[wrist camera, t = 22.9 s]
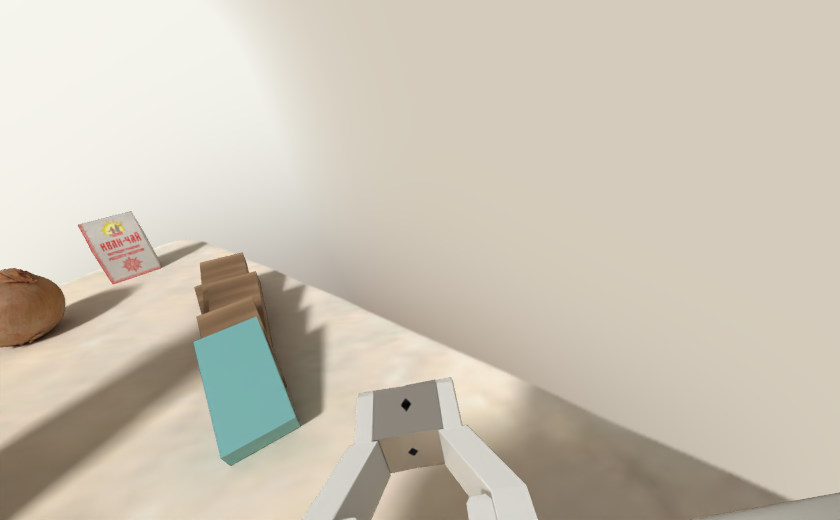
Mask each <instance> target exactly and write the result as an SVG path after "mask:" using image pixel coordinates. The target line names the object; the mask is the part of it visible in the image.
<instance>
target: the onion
mask: <svg viewBox="0 0 840 520" xmlns="http://www.w3.org/2000/svg"><path fill="white" fill-rule="evenodd" d="M64 311H65V297H64V295H63V292H62V291H61V289H60V288H59V287H58V286H57V285H56V284H55V283H53V282H52V281H50V280H49V279H46V278H44V277H41V276H37V275H34V274H31V273H29V272H27V271H23V270H21V269H20V270H19V269H16V268H13V269H4V270H1V271H0V347H9V346H15V345H20V346H22V345H23V344H25V343H27V342H29V343H31V342H33V340H35V339H37V338H39V337H41V336H43V335H44V334H46V333H48V332H49V331H51V330H52V329H53V328H55V327H56V326H57V324H58V323H59V322H60V321H61V319H62V317H63V315H64Z"/></svg>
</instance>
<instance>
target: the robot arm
mask: <svg viewBox="0 0 840 520" xmlns="http://www.w3.org/2000/svg"><path fill="white" fill-rule="evenodd" d="M436 385H437V386H436ZM439 464H445V465H446V467H447V468H448V469H449V471H450V472H451V473H452V475H453V476H454V477H455V479H456V480H457V481H458V483H459V484H460V485H461V487H462V488H463V489H464V491H465V492H466V493H467V495H468V496H469V499H468V501H467V503H466V505H467V512H468V519H469V520H538V518H537V515H536V512H535V509H534V506H533V503H532V500H531V497H530V494H529V491H528V488H527V485H526V484H525V483H524V482H523V481H522V480H521V479H520V478H519V477H518V476H517V475H516V474H515V473H514V472H513V471H512V470H511V469H510V468H509V467H508V466H507V465H506V464H505V463H504V462H503V461H502V460H501V459H500V458H499V457H498V456H497V455H496V454H495V453H494V452H493V451H492V450H491V449H490V448H489V447H488V446H487V445H486V444H485V443H484V442H483V440H482V439H481V438H480V437H479V436H478V435H477V434H476V433H475V432H474V431H473V430H472V429H471V428H470V427H469V426H468V425H462V421H461V417H460V412H459V408H458V403H457V398H456V394H455V389H454V384H453V380H452V378H451V377H449V378H444V379H439V380H431V381H426V382H421V383H415V384H410V385H405V386H403V387H396V388H389V389H383V390H376V391H370V392H364V393H359V394H358V397H357V406H356V421H355V436H354V445H350V446H349V447H348V448H347V450H346V451H345V453H344V455H343V456H342V458H341V459H340V461H339V462H338V464H337V465H336V467H335V469H334V470H333V472H332V473H331V475H330V476H329V478H328V480H327V481H326V483H325V484H324V486H323V487H322V489H321V490H320V492H319V494H318V495H317V497H316V498H315V500H314V501H313V503H312V505H311V506H310V508H309V509H308V511H307V512H306V514H305V515H304V517H303V519H302V520H371V519H372V517H373V515H374V512H375V510H376V508H377V505H378V503H379V501H380V499H381V496H382V494H383V492H384V490H385V487H386V485H387V483H388V480H389V478H390V476H391V475H390V473H395V472H400V471H404V470H409V469H414V468H419V467H426V466H433V465H439ZM691 520H840V493H835V494H829V495H824V496H818V497H813V498H807V499H802V500H796V501H791V502H785V503H779V504H774V505H768V506H763V507H757V508H752V509H746V510H741V511H735V512H729V513H724V514H718V515H713V516H707V517H702V518H696V519H691Z"/></svg>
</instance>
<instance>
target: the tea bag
mask: <svg viewBox="0 0 840 520" xmlns="http://www.w3.org/2000/svg"><path fill="white" fill-rule="evenodd" d="M78 227H79V228H80V230H81V232H82V233H83V235H84V237H85V239H86V241H87V243H88V245H89V247H90V249H91V251H92V253H93V254H94V256H95V257H96V259H97V261H98V262H99V264H100V265H101V267H102V268H103V270H104V272H105V273H106V275H107V276H108V278H109V279H110V281H111V282H112V284H116V283H119V282H122V281H125V280H128V279H131V278H134V277H137V276H140V275H143V274H145V273H148V272H151V271H154V270H157V269H160V268H161V264H160V261H159V259H158V257H157V255H156V253H155V252H154V250H153V248H152V246H151V244H150V243H149V241H148V239H147V237H146V235H145V234H144V232H143V230H142V228H141V227H140V225H139V224H138V222H137V220H136V219H135V217H134V216H133V214H132V212H131V211H130V212H126V213H122V214H118V215H114V216H110V217H106V218H103V219H98V220H95V221H91V222H87V223H83V224H79V225H78Z"/></svg>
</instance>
